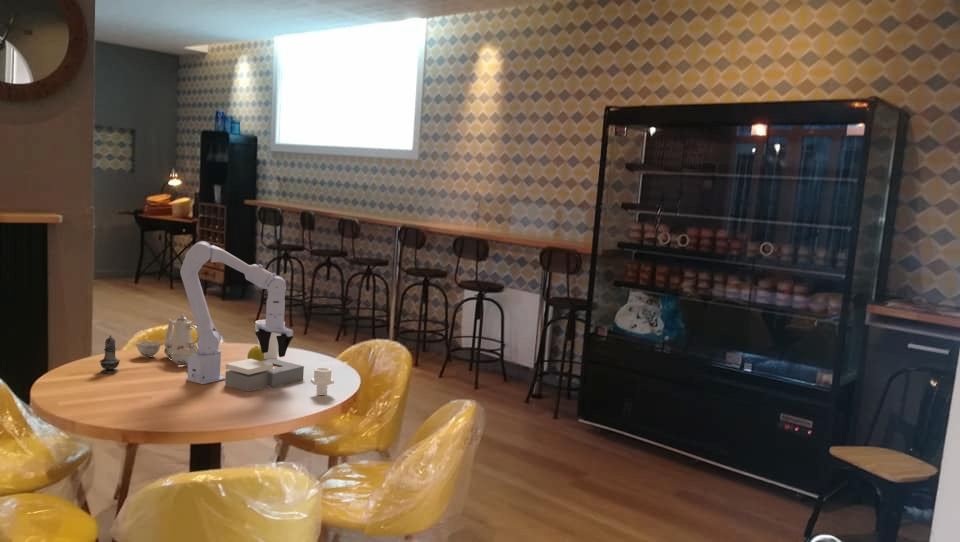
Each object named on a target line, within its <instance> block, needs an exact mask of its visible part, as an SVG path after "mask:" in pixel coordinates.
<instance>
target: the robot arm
mask: <svg viewBox="0 0 960 542" xmlns="http://www.w3.org/2000/svg"><path fill="white" fill-rule="evenodd" d="M209 260H210V263H222V264H224V265H226V266H229V267H230V268H232V269H234V270H235V271H238V272H240V273H243V274H244V278H245V280H246V281H248V282H250V283H252V284H254V285H255V286H258V287H260V288H261V289H264V290H266V291H267V292H268V293H267V299H266V308H265V309H266V310H265V312H266V313H265V319H266V324H262V323H259V324H256V327H255V332H254V334H255V335H256V338H258V340H259V343H260V347H261V351H262V353H266V352H268V349H269V340H270V336H271V333H272V332H273V333H277V334H281V335H280V336H276V338H277V341H278V358H283V357H285V356H286V352H287V350H288V347H289V345H290V343H291V342H292V340H293V338H294V329H291V328H288V327H287V326H286V325H285V326H284V322H285V311H286V309H285V308H286V307H285V306H286V299H285V297H286V294H285V293H286V291H287V287H286V286H287V283H286V281H285V279H284V278H283V277H282V276H280V275H277V273H276V272H270V271H269V270H267V269H265V268H263V267H264V266H263V265H262V264H261V263H259V264H256V263H253V264H248V263H246V262H245V261H243V260H242V259H240V258H238V257H237V256H235V255H233V254H231V253H230V252H228V251H226V250H225V249H223V248H221V247H218V246H216V245H214V244H212V245H211V244H210V243H209V242H208V241H205V240H204V241H203V240H201V241H197V242H195V244H193V245H192V246H191V247H190V249H188V250H187V252H186V253H185V255H184V259H183V262H182V265H181V267H180V271H179V272H180V278H181V280H182V283H183V286H184V290H185V293H186V296H187V300H188V304H189V306H190V309H191V313H192V316H193V319H194V322H195V326H196V327H197V330H196V333H197V338H198V342H197V343H196V346H197V353H196V354H195V355H192V356H191V357H190V358H189V360H188V366H187V378H185V381H188V382H189V381H190V382H192V383H197V384H200V385H205V384H210V383H214V382H219V381H222V380H225V376H223V375H221V360H222V359H221V357H222V350H221V349H220V348H219V346H220V343H221V340H222V337H221V334H220V332H219V331H218V330H217V328H216V327H215V324H214V322H213V320H212V318H211V317H212V316H211V314H210V310H209V307H208V304H207V301H206V297H205V295H204V291H203V288H202V285H201V284H202V283H201V281H200V277H199V272H200V270H201V269H202V267H203V265H205V264H206V263H207V262H208V261H209ZM256 330H259V331H258V332H256ZM258 340H257V341H258Z"/></svg>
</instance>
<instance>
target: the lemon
mask: <svg viewBox="0 0 960 542" xmlns="http://www.w3.org/2000/svg"><path fill="white" fill-rule="evenodd" d="M246 359H254V360H258V361H265V360H264V353H262V351H261V348H260V347H259V345H255V346H254V347H251V348H250V349H249V351H248V353H247V358H246Z"/></svg>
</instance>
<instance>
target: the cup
mask: <svg viewBox="0 0 960 542" xmlns="http://www.w3.org/2000/svg"><path fill="white" fill-rule="evenodd" d="M259 323H262V324H266V318H265V319H258V320H255V326H254V327H255V328H256V324H259ZM284 326H285V327H286V321H284ZM258 331H259V330H256V329H255V332H258ZM280 335H281V334H277V333H273V332H272V333H271V336H270V340H269V349H268V352H266V353H264V361H265V360H270V359H276V360H278V357H279V355H278V341H277V338H276V336H280ZM256 338H257V337H256ZM257 343H258V344H257V345H258V347H260V343H259V340H258V338H257ZM260 348H261V347H260Z"/></svg>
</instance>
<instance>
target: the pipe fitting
mask: <svg viewBox="0 0 960 542" xmlns="http://www.w3.org/2000/svg"><path fill="white" fill-rule="evenodd" d="M313 370H314V371H313V377H311V378H310V383H312V385H314V386H315V385H316V390H315V391H316V396H318V395H325V396H327V395H326V394H328V387H329V385H332V384H334V383H335V380H334V379H333V378H332V368H330V367H324V366H323V367H321V366H320V367H316V368H314V369H313Z"/></svg>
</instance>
